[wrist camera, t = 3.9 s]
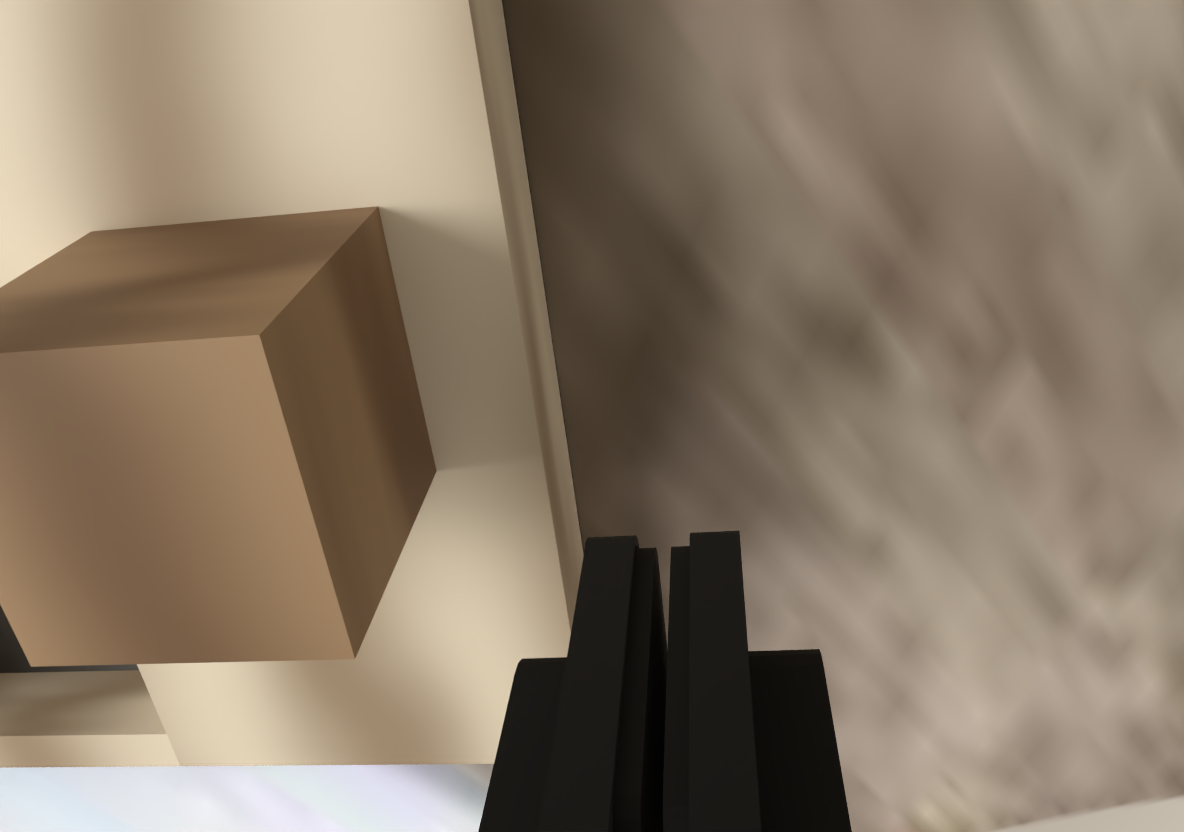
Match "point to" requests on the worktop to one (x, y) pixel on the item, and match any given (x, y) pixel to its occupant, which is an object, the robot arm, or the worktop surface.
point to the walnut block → (207, 442)
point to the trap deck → (431, 318)
